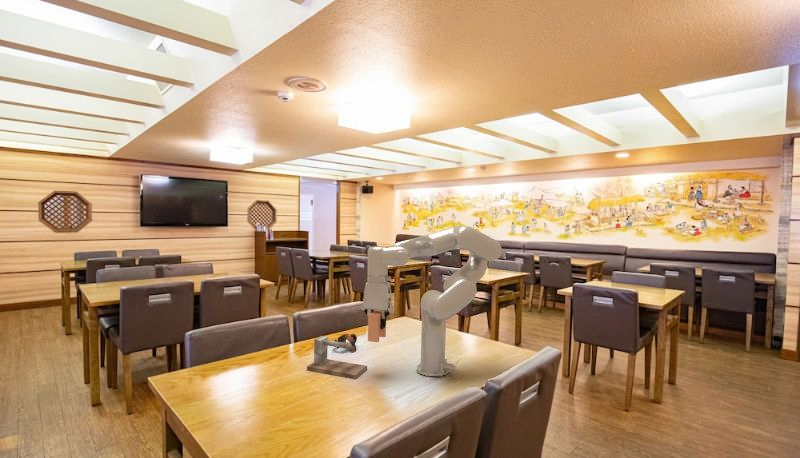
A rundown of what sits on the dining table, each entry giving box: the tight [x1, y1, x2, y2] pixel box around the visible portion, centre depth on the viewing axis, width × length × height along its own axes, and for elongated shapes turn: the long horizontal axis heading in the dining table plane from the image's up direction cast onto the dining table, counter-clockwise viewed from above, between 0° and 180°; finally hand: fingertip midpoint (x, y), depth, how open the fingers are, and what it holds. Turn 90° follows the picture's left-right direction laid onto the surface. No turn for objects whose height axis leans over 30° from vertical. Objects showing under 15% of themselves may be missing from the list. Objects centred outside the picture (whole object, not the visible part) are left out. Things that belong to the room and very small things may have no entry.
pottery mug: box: [334, 333, 358, 353], centre depth 174 cm, size 12×10×8 cm
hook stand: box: [306, 335, 368, 380], centre depth 149 cm, size 21×10×12 cm, turn 70°
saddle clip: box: [367, 310, 387, 343], centre depth 145 cm, size 4×8×10 cm, turn 160°
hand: (377, 327), depth 145 cm, fingers closed on saddle clip, 4 cm apart
